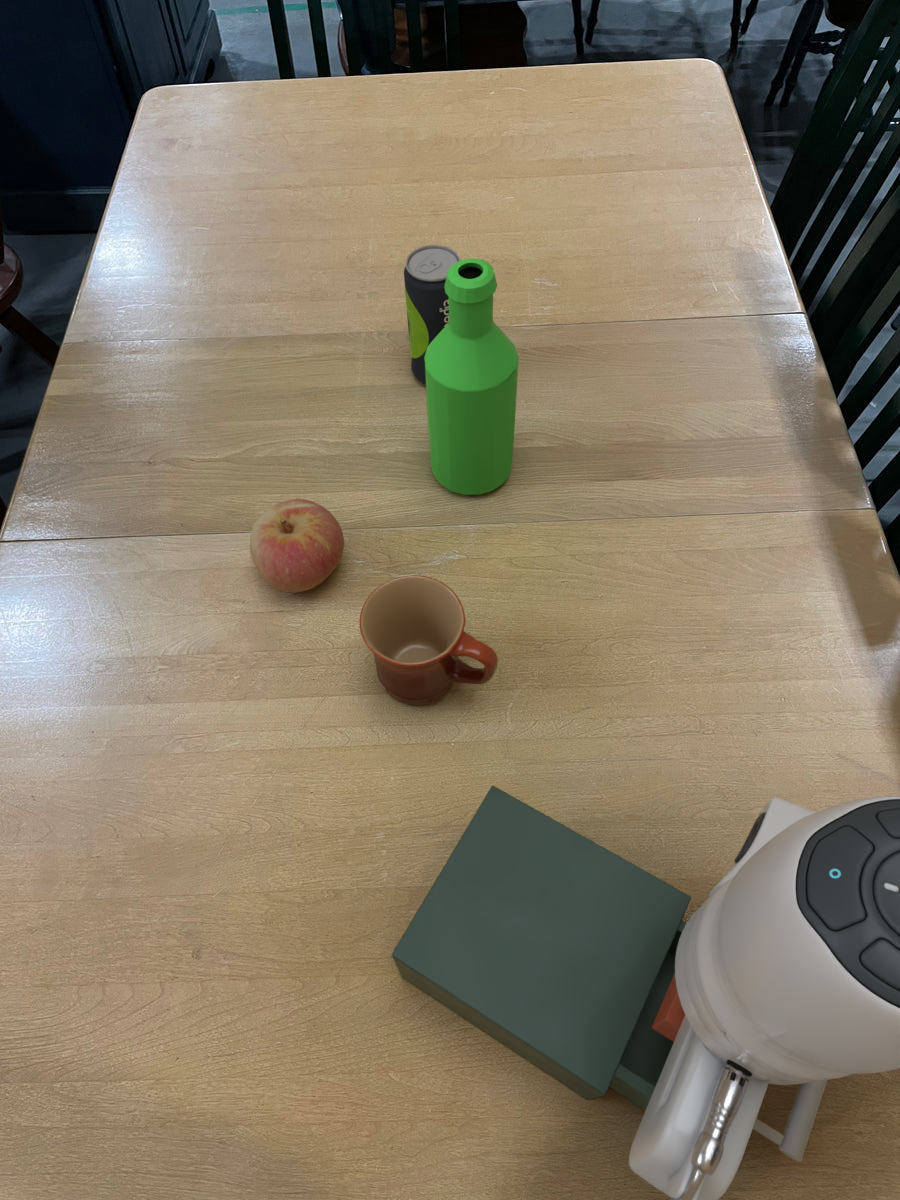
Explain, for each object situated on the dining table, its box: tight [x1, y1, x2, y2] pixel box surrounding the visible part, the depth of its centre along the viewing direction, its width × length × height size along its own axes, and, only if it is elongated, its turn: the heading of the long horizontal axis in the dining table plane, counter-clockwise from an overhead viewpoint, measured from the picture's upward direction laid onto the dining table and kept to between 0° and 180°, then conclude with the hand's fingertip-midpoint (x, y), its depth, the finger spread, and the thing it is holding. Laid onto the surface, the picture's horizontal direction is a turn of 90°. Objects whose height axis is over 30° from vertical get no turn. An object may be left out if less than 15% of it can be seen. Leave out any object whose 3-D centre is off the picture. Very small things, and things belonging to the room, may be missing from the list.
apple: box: [249, 498, 345, 593], centre depth 82 cm, size 9×9×8 cm
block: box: [652, 974, 685, 1042], centre depth 51 cm, size 4×4×4 cm
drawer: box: [608, 919, 828, 1163], centre depth 59 cm, size 20×13×8 cm, turn 59°
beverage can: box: [403, 244, 462, 385], centre depth 94 cm, size 6×6×15 cm
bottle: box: [424, 258, 519, 496], centre depth 82 cm, size 9×9×25 cm
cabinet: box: [391, 785, 692, 1101], centre depth 62 cm, size 16×14×10 cm
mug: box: [359, 574, 499, 707], centre depth 74 cm, size 12×9×10 cm
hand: (706, 1011), depth 52 cm, fingers closed on block, 4 cm apart
